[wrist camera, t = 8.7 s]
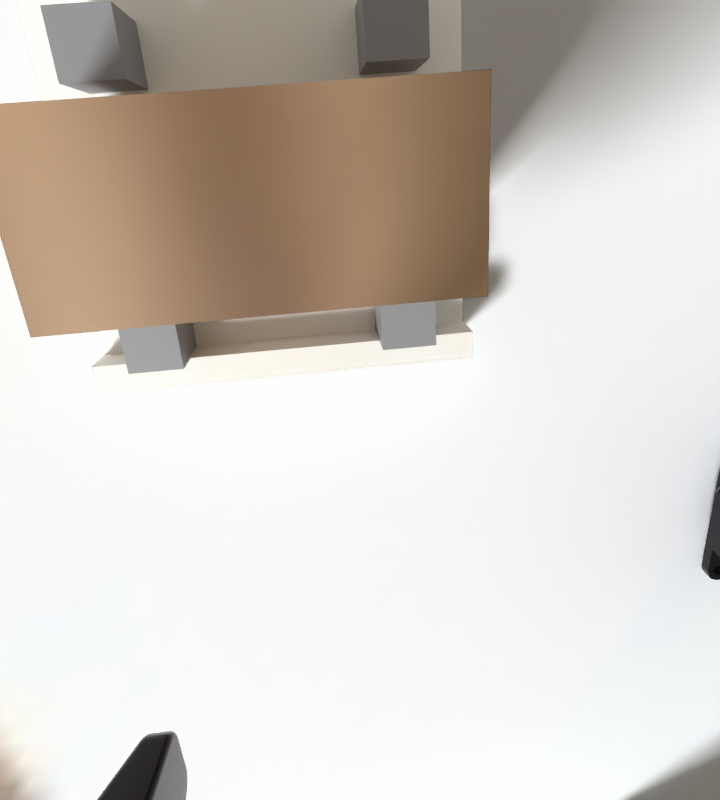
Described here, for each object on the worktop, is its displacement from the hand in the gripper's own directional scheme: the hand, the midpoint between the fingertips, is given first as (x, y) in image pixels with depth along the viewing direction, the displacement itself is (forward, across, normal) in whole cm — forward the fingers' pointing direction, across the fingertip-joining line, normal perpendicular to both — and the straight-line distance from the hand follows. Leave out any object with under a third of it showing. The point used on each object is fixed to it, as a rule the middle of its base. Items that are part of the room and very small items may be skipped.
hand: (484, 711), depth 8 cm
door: (+11, +3, -7) cm, 14 cm away
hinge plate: (+12, +3, -7) cm, 15 cm away
